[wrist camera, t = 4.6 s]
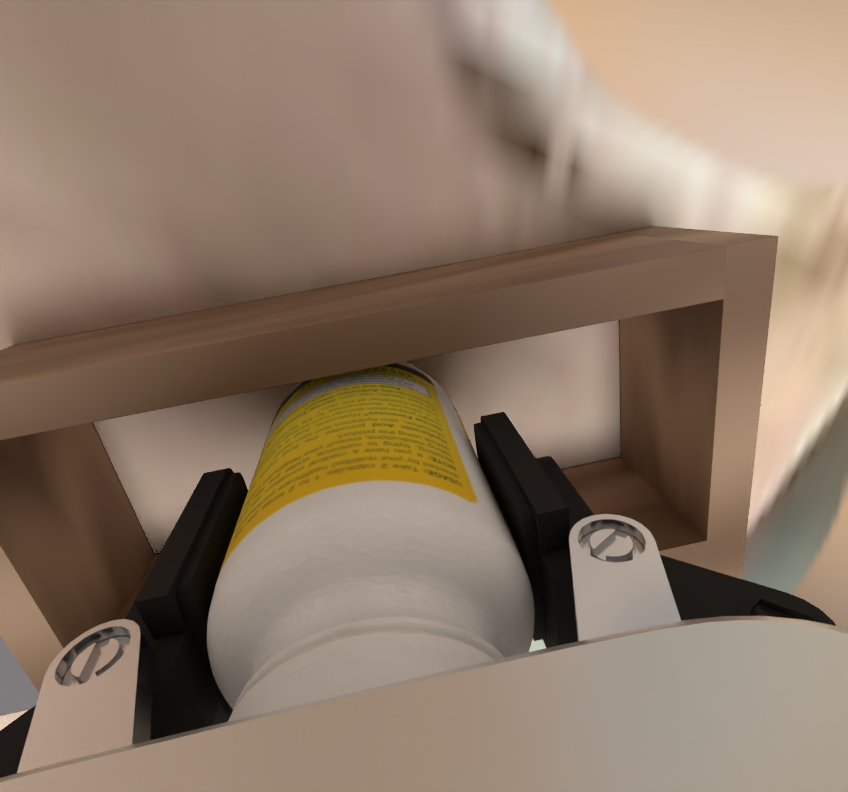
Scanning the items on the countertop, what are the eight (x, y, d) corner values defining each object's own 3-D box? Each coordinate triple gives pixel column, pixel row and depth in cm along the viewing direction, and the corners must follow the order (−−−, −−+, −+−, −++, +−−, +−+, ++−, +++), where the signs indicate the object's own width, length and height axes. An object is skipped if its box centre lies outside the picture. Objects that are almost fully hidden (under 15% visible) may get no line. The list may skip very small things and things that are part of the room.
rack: (11, 346, 15) (-150, 412, 10) (654, 226, 16) (777, 236, 11) (197, 713, 21) (150, 859, 16) (649, 611, 22) (726, 720, 17)
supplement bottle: (230, 429, 14) (-3, 873, 5) (382, 310, 13) (440, 570, 4) (355, 545, 16) (356, 1009, 7) (493, 447, 15) (695, 822, 6)
